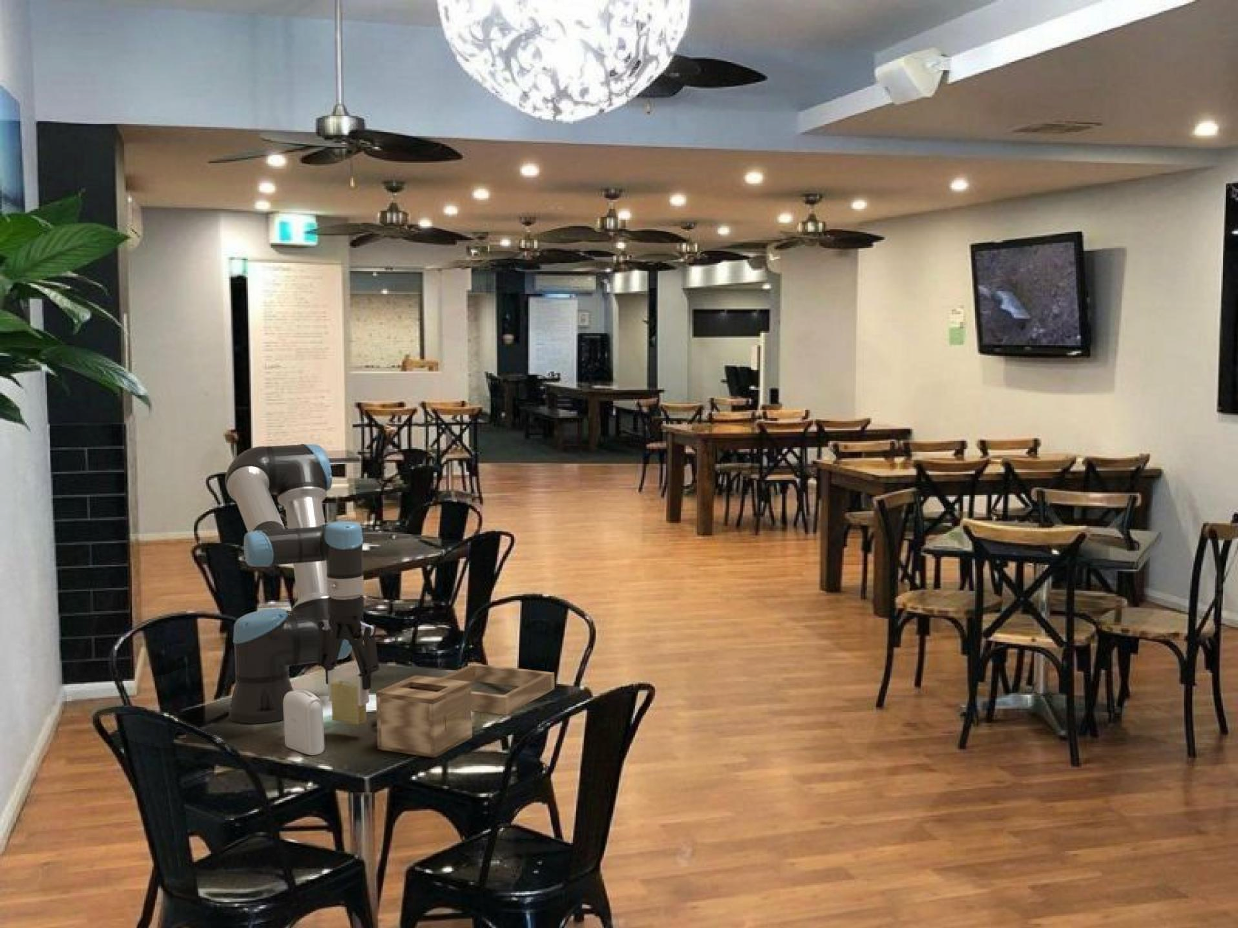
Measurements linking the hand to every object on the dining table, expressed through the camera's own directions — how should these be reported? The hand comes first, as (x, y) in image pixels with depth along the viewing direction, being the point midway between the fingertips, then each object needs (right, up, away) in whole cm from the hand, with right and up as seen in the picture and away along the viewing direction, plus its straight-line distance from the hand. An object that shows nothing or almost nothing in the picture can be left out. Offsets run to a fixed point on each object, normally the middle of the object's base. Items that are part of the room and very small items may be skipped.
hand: (348, 701), depth 253 cm
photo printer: (-7, -9, -7) cm, 14 cm away
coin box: (+17, -8, -4) cm, 19 cm away
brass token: (0, -4, 0) cm, 4 cm away
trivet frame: (+26, -5, +30) cm, 40 cm away
